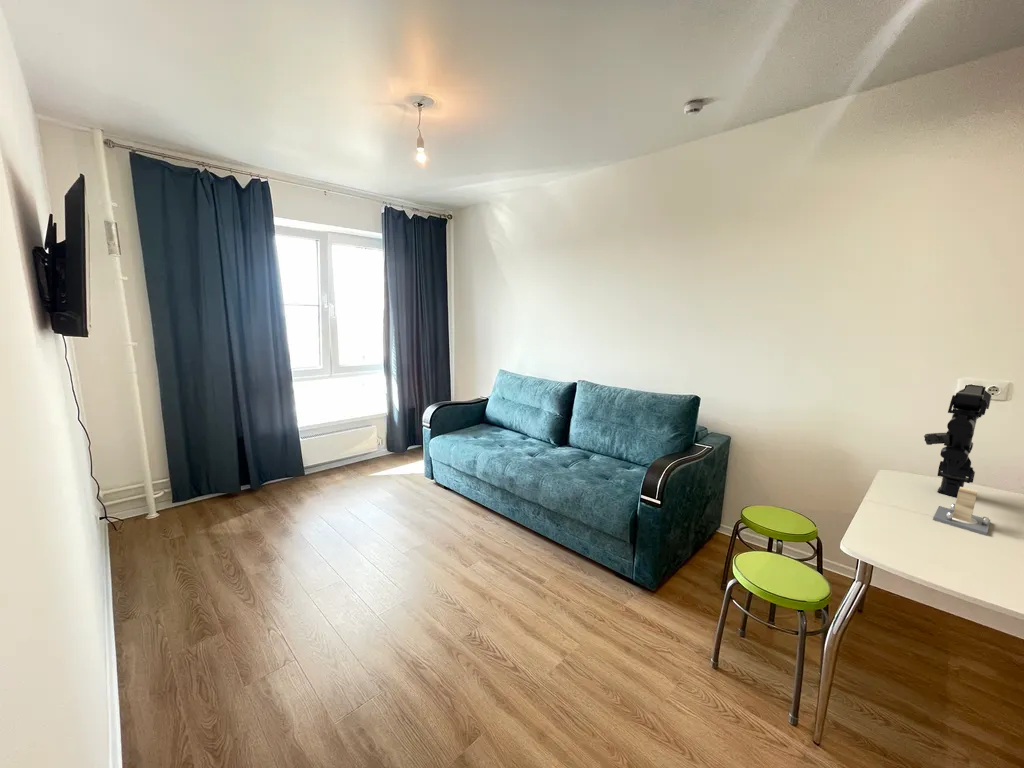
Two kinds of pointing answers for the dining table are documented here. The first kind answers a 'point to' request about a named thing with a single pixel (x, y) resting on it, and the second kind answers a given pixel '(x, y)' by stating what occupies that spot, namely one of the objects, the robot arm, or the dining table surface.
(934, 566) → the dining table surface
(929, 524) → the dining table surface
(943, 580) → the dining table surface
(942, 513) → the plate
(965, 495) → the maple block
